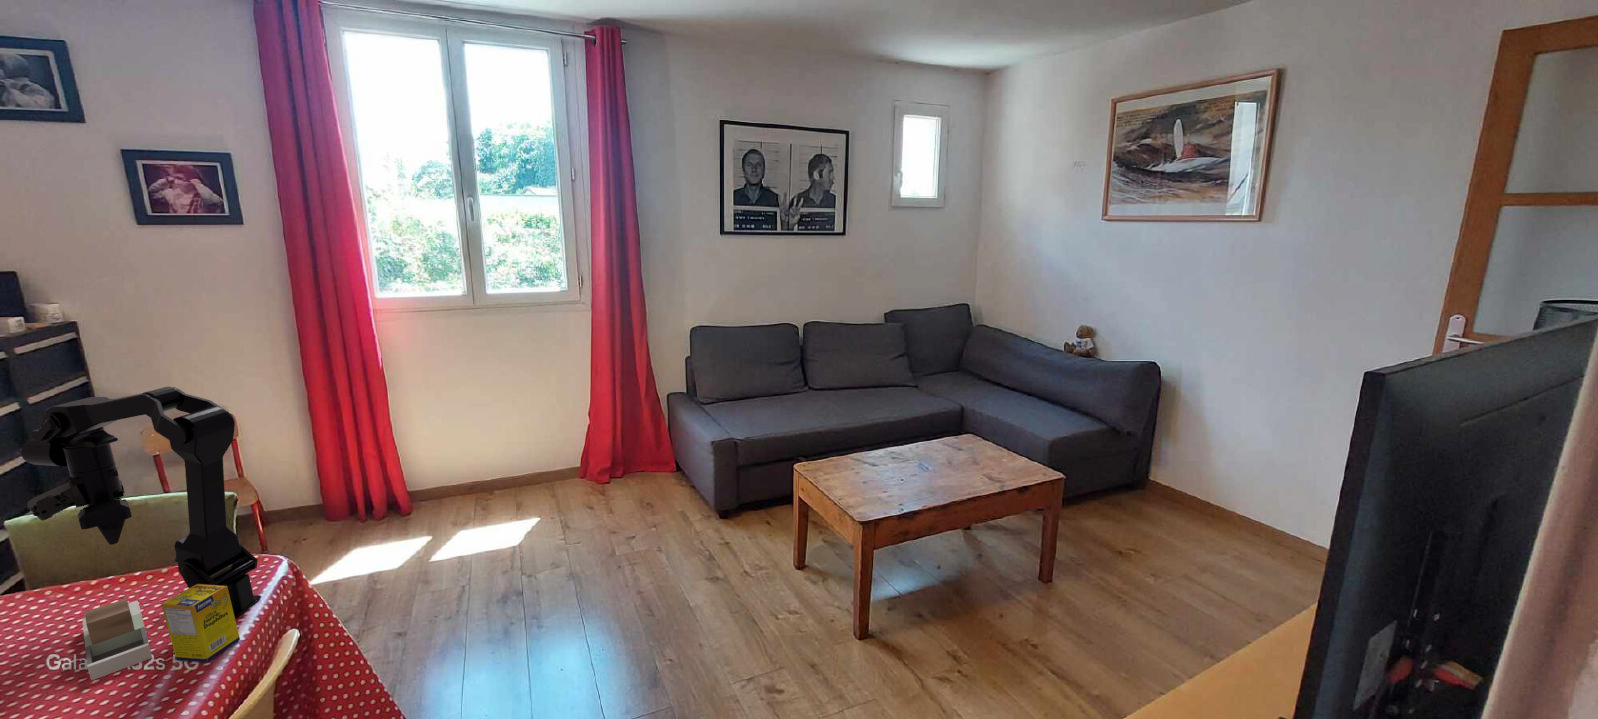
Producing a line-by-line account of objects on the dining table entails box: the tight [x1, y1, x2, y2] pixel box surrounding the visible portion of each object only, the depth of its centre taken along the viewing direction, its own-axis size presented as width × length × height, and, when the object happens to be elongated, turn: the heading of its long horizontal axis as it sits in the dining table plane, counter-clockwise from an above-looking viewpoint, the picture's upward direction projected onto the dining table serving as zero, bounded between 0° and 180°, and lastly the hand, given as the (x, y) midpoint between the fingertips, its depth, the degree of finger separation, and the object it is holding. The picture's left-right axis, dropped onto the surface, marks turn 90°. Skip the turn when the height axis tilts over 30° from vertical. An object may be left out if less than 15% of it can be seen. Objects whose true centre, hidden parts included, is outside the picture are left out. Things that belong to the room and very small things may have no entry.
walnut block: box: [84, 598, 135, 645], centre depth 110 cm, size 5×5×4 cm
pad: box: [83, 612, 148, 657], centre depth 111 cm, size 6×7×2 cm
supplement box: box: [161, 584, 241, 664], centre depth 108 cm, size 6×6×11 cm
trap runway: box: [81, 600, 153, 681], centre depth 112 cm, size 22×7×2 cm, turn 49°
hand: (113, 543), depth 120 cm, fingers closed
